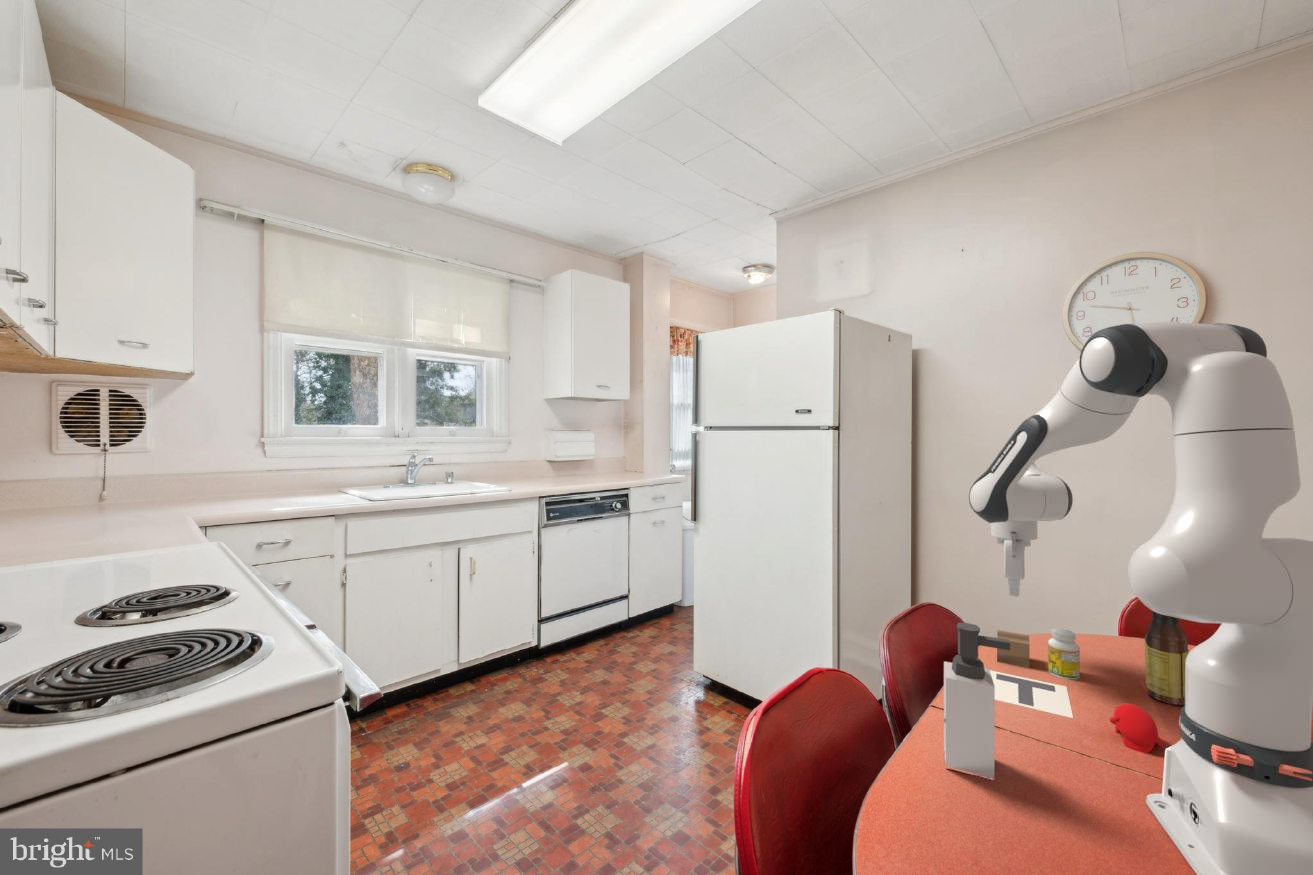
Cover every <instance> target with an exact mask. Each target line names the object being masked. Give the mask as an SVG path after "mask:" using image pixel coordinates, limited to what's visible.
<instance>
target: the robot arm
mask: <svg viewBox="0 0 1313 875" xmlns="http://www.w3.org/2000/svg"><path fill="white" fill-rule="evenodd" d="M1267 350H1268V349H1267V346H1266V344H1265V341H1264V339H1263V338H1262V337H1261V336H1260V334H1258V333H1257V332H1256V331H1254V330H1253V329H1251V328H1248V327H1245V326H1241V325H1237V324H1231V323H1221V322H1219V323H1218V322H1217V323H1211V324H1210V323H1197V322H1195V323H1194V322H1180V321H1159V322H1148V323H1147V322H1146V323H1140V324H1132V323H1124V324H1118V325H1114V326H1113V325H1112V326H1108V327H1105V328H1102V329H1099V330H1098V331H1095V332H1094V333H1093V334H1092V335H1091V336H1089V338H1088V339H1087V340H1086V342H1085V343H1084V345H1083V347H1082V349H1081V351H1080V356H1079V358H1078V359H1077V360H1076V362H1075V363H1074V365H1073V366H1072V368H1071V369H1070V370H1069V372H1068V373H1067V374H1066V377H1065V378H1064V380H1063V382H1062V384H1061V386H1060V387H1059V389H1058V391H1057V392H1056V393H1055V394H1054V396H1053V397H1052V399H1050V400H1049V402H1047V404H1046V405H1045V406H1043V407H1042V408H1041V409H1040V410H1038V411H1037V412H1036V413H1034V414H1033V415H1031V416H1029V417H1028V418H1026V419H1025V420H1024V421H1022V423H1021V424H1020V425H1018V427H1017V428H1016V429H1015V431H1014V432H1013V433H1012V435H1011V436H1010V437H1009V438H1008V440H1007V442H1006V443H1005V444H1004V446H1003V447H1002V448H1001V450H1000V451H999V453H998V454H997V456H996V457H995V458H994V460H993V461H992V463H991V464H990V466H989V467H988V468H987V469H986V470H985V471H984V472H983V473H982V474H981V475H980V476H979V477H978V478H977V479H976V480H975V481H974V482H973V484H972V485H971V487H970V489H969V494H968V502H969V506H970V508H971V510H972V511H973V512H974V513H975V514H976V515H977V516H978V517H980V518H981V519H982V520H984V521H985V522H986V523H988V524H989V523H990V536H992V537H994V538H996V539H997V540H996V542H997V544H999V545H1002V552H1003V576H1004V577H1005V578H1006V579H1008V587H1009V589H1008V590H1009V593H1008V594H1009V595H1010V596H1011V597H1012V596H1013V597H1019V596H1020V585H1021V580H1024V579H1025V550H1026V548H1027V547H1031V542H1032V541H1034V540H1037V539H1038V538H1039V536H1038V522H1053V521H1059V520H1063V519H1064V518H1065V517H1066V516H1068V514H1069V513H1070V512H1071V509H1072V507H1073V500H1074V497H1073V492H1072V490H1071V488H1070V487H1069V485H1068V484H1067V483H1066V482H1065V481H1064V480H1063V479H1062V478H1060V477H1058V476H1053V475H1051V474H1048V473H1046V472H1045V471H1042V470H1041V469H1040V468H1038V467H1037V466H1036V465H1037V464H1036V463H1035V462H1036V461H1037V460H1039V459H1040V458H1043V457H1044V456H1046V455H1048V454H1052V453H1054V452H1058V451H1061V450H1065V449H1069V448H1075V447H1080V446H1084V445H1090V444H1094V443H1097V442H1101V441H1104V440H1106V439H1108V438H1110V437H1111V436H1113V434H1115V433H1116V432H1118V431H1119V430H1120V429H1121V428H1122V426H1124V425H1125V423H1126V422H1127V420H1128V419H1129V417H1131V416H1130V415H1131V414H1132V412H1133V411H1134V409H1135V408H1136V406H1137V405H1138V403H1139V401H1140V400H1141V398H1144V396H1145V395H1146V396H1147V395H1156V396H1159V397H1161V398H1163V399H1164V400H1165V401H1166V402H1167V403H1168V405H1169V406H1170V410H1171V411H1170V412H1171V422H1172V423H1171V424H1172V426H1171V427H1172V436H1173V438H1172V439H1173V449H1174V450H1173V452H1174V466H1175V467H1174V468H1175V486H1174V495H1173V501H1172V502H1171V506H1170V509H1169V512H1168V514H1167V515H1166V518H1165V520H1164V522H1163V523H1162V524H1161V526H1160V527H1159V529H1158V530H1157V531H1156V533H1154V534H1153V536H1151V538H1150V539H1148V540H1147V541H1145V542H1144V543H1142V544H1141V545H1139V546H1138V547H1136V549H1135V550H1134V551H1133V553H1132V554H1131V555H1130V557H1129V561H1128V564H1127V578H1128V583H1129V585H1130V588H1131V589H1132V591H1133V592H1134V594H1135V596H1136V598H1138V600H1139V601H1140V602H1141V603H1142V604H1143V605H1144V606H1145V607H1147V608H1148V609H1149V610H1151V611H1152V612H1153V611H1154V612H1156V613H1158V614H1162V615H1166V616H1170V617H1175V618H1179V620H1180V619H1181V620H1185V621H1190V622H1195V623H1201V624H1220V625H1219V627H1218V629H1217V630H1216V631H1215V632H1214V633H1213V635H1211V636H1210V637H1209V638H1207V639H1206V640H1204V641H1203V642H1201V643H1199V644H1198V645H1196V646H1194V647H1193V648H1192V649H1191V650H1190V651H1189V654H1188V655H1187V658H1186V661H1185V705H1183V707H1182V708H1181V709H1180V715H1179V719H1178V725H1179V735H1180V739H1179V740H1178V741H1177V742H1176V743H1174V744H1173V745H1171V746H1169V747H1167V748H1165V750H1164V760H1163V762H1164V763H1163V774H1162V789H1161V793H1149V794H1147V796H1146V799H1145V800H1146V801H1145V804H1146V805H1147V807H1148V809H1150V811H1151V812H1152V814H1153V815H1154V816H1155V818H1156V819H1157V820H1158V822H1159V824H1160V826H1162V827H1163V829H1164V831H1165V832H1166V834H1168V837H1169V838H1170V839H1171V840H1172V841H1173V843H1174V845H1175V846H1176V847H1177V849H1178V850H1179V852H1180V853H1181V854H1182V856H1183V857H1184V858H1185V860H1186V861H1187V863H1188V864H1189V865H1190V867H1191V869H1192V870H1193V871H1194V872H1195V874H1196V875H1313V741H1312V723H1313V722H1312V719H1313V718H1312V717H1313V540H1307V539H1300V538H1292V537H1291V538H1290V537H1289V538H1287V537H1282V538H1281V537H1279V538H1278V537H1277V538H1276V537H1270V538H1268V537H1263V534H1264V531H1265V530H1264V529H1265V528H1266V525H1267V522H1268V521H1269V519H1270V518H1271V515H1273V513H1274V512H1275V511H1276V510H1277V509H1278V508H1280V507H1282V506H1283V505H1285V504H1286V503H1289V502H1290V501H1292V500H1293V499H1294V498H1295V497H1297V495H1298V493H1299V491H1300V490H1301V484H1302V482H1301V477H1300V476H1301V475H1300V467H1299V458H1298V451H1297V450H1298V449H1297V443H1296V442H1297V441H1296V434H1295V425H1294V418H1293V414H1292V410H1291V404H1290V401H1289V398H1288V395H1287V391H1286V389H1285V386H1284V382H1283V380H1282V378H1281V376H1280V374H1279V371H1278V369H1277V367H1276V365H1275V364H1274V363H1273V362H1272V360H1270V359H1269V358H1268V357H1267V356H1268V352H1267Z"/></svg>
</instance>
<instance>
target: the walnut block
mask: <svg viewBox="0 0 1313 875" xmlns="http://www.w3.org/2000/svg"><path fill="white" fill-rule="evenodd" d="M996 634H997V636H996V638H1001V639H1009V641H1010V650H1005V649H999V648H996V662H997V663H1002V664H1005V665H1010V666H1011V665H1012V666H1015V667H1016V666H1017V667H1021V668H1027V669H1030V654H1031V653H1030V649H1031V648H1030V647H1031V646H1030V636H1029V635H1028V634H1023V633H1017V632H1011V631H1006V630H1000V629H997V633H996Z"/></svg>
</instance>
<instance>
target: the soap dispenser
mask: <svg viewBox="0 0 1313 875" xmlns="http://www.w3.org/2000/svg"><path fill="white" fill-rule="evenodd" d="M956 629H957V653H958V654H956V655H955V656H954V657H953V658H952V662H950V661H943V750H944V751H945V755H944V763H946V766H948V767H953V768H955V769H960V770H964V771H967V772H971V773H973V774H978V775H979V776H985V777H987V778H992V779H994V780H995V729H996V728H995V727H996V726H995V715H996V714H995V713H996V712H995V711H996V710H995V703H996V702H995V701H996V700H995V686H994V683H993V680H992V676H991V673H990V670H991V669H990V668H986V667H985V665H984V662H983V661H982V660H981V659H980V658H979V657H980V656H979V655H980V654H979V646H981V647H987V648H993V649H997V648H999V649H1005V650H1010V641H1009V639H1001V638H997V637H993V636H992V637H991V636H986V635H979V634H980V632H981V628H980V627H979V625H977V624H973V623H969V622H968V623H967V622H958V623H957V624H956ZM944 751H943V752H944ZM946 766H945V767H946Z"/></svg>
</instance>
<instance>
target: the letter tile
mask: <svg viewBox="0 0 1313 875" xmlns="http://www.w3.org/2000/svg"><path fill="white" fill-rule="evenodd" d="M989 670H990V673H991V676H992V680H993V683H994V686H995V701H998V702H1002V703H1007V704H1011V705H1015V706H1020V707H1024V708H1028V709H1032V710H1036V711H1041V712H1044V713H1045V712H1046V713H1050V714H1054V715H1057V716H1061V717H1066V718H1070V719H1074V716H1073V711H1072V707H1071V701H1070V698H1069V692H1068V687H1067V686H1065V685H1061V684H1056V683H1051V682H1045V681H1042V680H1038V679H1033V678H1027V677H1024V676H1018V675H1013V674H1009V673H1005V672H999V671H995V670H991V669H989Z"/></svg>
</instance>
